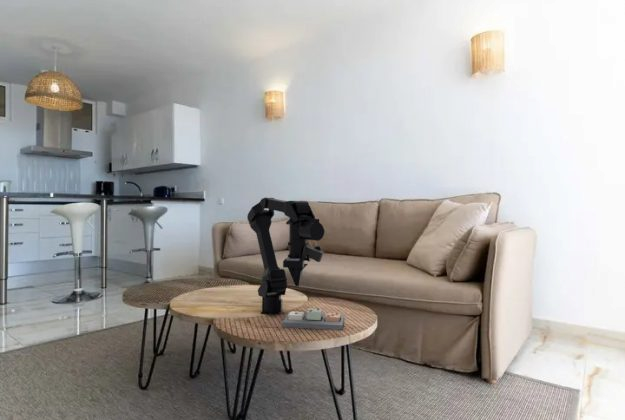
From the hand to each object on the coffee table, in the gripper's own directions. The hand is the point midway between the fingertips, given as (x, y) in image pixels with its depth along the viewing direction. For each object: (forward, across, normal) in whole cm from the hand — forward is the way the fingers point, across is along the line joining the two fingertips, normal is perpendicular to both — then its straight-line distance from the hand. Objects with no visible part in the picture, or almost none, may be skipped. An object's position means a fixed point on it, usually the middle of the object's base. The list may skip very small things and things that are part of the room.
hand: (297, 286), depth 131 cm
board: (+12, 0, -6) cm, 13 cm away
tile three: (+12, 0, -12) cm, 17 cm away
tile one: (+12, 0, 0) cm, 12 cm away
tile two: (+10, 0, -6) cm, 12 cm away
